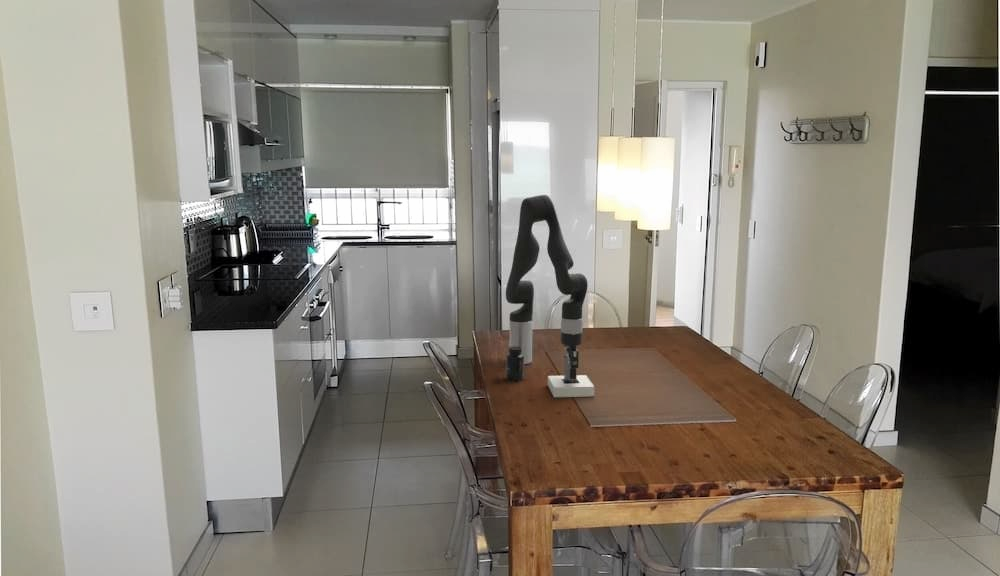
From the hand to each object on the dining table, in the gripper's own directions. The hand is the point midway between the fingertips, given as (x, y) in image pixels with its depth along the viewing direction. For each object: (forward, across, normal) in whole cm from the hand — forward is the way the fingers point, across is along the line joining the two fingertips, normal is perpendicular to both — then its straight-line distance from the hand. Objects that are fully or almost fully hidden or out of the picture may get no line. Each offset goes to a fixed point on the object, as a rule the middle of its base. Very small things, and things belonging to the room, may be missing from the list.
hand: (570, 375), depth 257 cm
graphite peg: (+5, 0, 0) cm, 5 cm away
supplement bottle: (+6, -16, -18) cm, 25 cm away
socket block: (+6, 0, 0) cm, 6 cm away
